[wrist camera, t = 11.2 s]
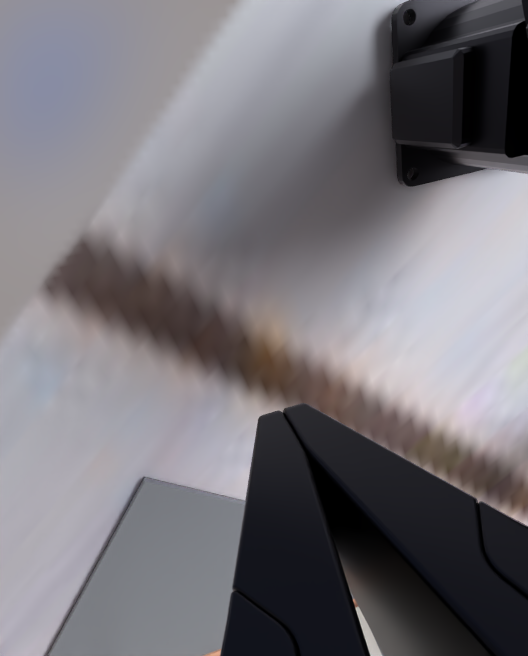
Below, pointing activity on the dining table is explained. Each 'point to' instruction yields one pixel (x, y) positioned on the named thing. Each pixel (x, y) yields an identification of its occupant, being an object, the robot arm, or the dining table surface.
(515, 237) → the dining table surface
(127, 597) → the card
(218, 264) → the dining table surface
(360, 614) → the white fence panel
